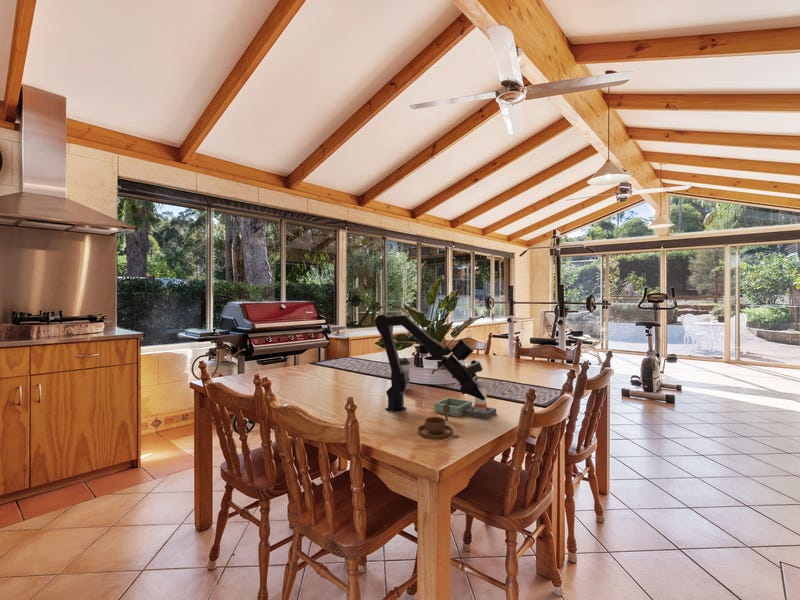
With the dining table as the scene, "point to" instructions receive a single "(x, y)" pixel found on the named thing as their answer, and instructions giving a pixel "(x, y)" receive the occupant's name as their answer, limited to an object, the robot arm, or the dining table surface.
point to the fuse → (481, 404)
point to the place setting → (437, 426)
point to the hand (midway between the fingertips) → (484, 397)
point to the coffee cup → (405, 365)
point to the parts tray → (453, 406)
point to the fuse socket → (482, 415)
